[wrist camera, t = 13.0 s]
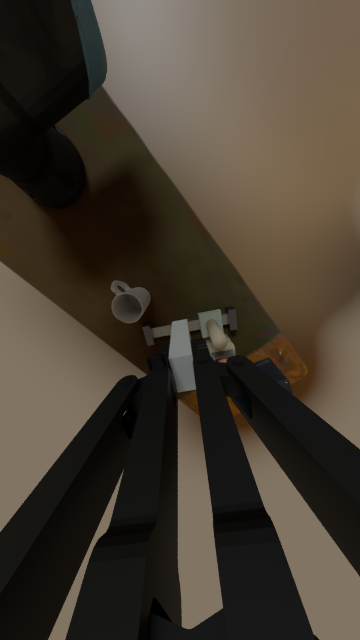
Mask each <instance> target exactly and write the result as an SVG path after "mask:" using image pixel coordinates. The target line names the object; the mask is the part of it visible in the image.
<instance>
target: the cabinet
mask: <svg viewBox="0 0 360 640" xmlns="http://www.w3.org/2000/svg"><path fill="white" fill-rule="evenodd" d="M225 336H226V338H227V339H228V344H227V346H226V347H225V348H223V349H217V348H215V347H214V345H213V343H212V340H211V338H210V337H208V338H204V340H206V343H207V346H208V349H209V352H210V355H211V357H212V358H213V360H215V361H217V359H222V358H228V357H231V356H236V355H235V346H234V345H233V343H232V342H231V340H230V339H229V337H228V336H227V334H225Z"/></svg>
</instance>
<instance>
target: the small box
mask: <svg viewBox="0 0 360 640" xmlns="http://www.w3.org/2000/svg"><path fill="white" fill-rule="evenodd" d="M254 364H255V365H256V366H258V367H259V368H260V369H261V370H263V371H264V372H265V373H266V374H268V375H269V376H270V377H271V378H272V379H274V380H275V381H276V382H277V383H279V384H280V385H281V386H282V387H284V388H285V389H286V390H287V391H289V392H290V393H291V394H292V395H293V393H292V390H291V386H290V383H289V380H288V378H287V377H286V376H285V375H284V374H283V373H282V372H281V370H280V369H279V368H278V367H277V366H276V365H275V364H274V363H273V362H272V360H271V359H270V358H267V359H264V360H262V361H259V362H256V363H254Z"/></svg>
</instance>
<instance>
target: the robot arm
mask: <svg viewBox="0 0 360 640" xmlns="http://www.w3.org/2000/svg"><path fill="white" fill-rule="evenodd" d="M106 73H107V60H106V54H105V49H104V45H103V41H102V37H101V33H100V29H99V26H98V23H97V19H96V16H95V12H94V9H93V6H92V2H91V0H0V174H1V175H3V176H5V177H7V178H9V179H11V180H12V181H13V182H14V183H15V184H16V185H17V186H19V187H20V188H21V189H22V190H23V191H24V192H25V193H26V194H27V195H28V196H30V197H31V198H32V199H34V200H35V201H37V202H39V203H41V204H44V205H46V206H48V207H52V208H65V207H68V206H70V205H72V204H73V203H75V202H76V201H77V200H78V198H79V197H80V195H81V193H82V191H83V187H84V181H85V173H84V166H83V162H82V159H81V157H80V154H79V152H78V151H77V149H76V147H75V146H74V144H73V143H72V142H71V141H70V140H69V138H68V137H67V136H66V135H65V134H64V133H63V132H62V131H61V130H60V129H59V128H58V127H56V126H55V124H56V123H58V122H59V121H60V120H61V119H62V118H64V117H65V116H66V115H67V114H69V113H70V112H71V111H72V110H73V109H75V108H76V107H77V106H78V105H79V104H81V103H82V102H83V101H84V100H86V99H87V100H89V99H90V98H91V96H92V93H93V92H94V91H95V90H96V89H98V88H99V87H100V86H101V85H102V84H103V83H104V81H105V78H106ZM146 363H147V366H148V369H149V374H148V375H147V376H145V377H142V378H140V379H137V377H136V376H135V375H129V376H126V377H124V378H122V379H120V380H119V381H118V382H117V384H116V385H115V386H114V388H113V389H112V390H111V391H110V393H109V394H108V395H107V396H106V398H105V399H104V400H103V402H102V403H101V404H100V405H99V407H98V408H97V409H96V411H95V412H94V413H93V414H92V416H91V417H90V418H89V420H88V421H87V422H86V423H85V425H84V426H83V427H82V428H81V430H80V431H79V432H78V434H77V435H76V436H75V437H74V439H73V440H72V441H71V443H70V444H69V445H68V446H67V448H66V449H65V450H64V452H63V453H62V454H61V455H60V457H59V458H58V459H57V461H56V462H55V463H54V464H53V466H52V467H51V468H50V469H49V471H48V472H47V473H46V475H45V476H44V477H43V478H42V480H41V481H40V482H39V483H38V485H37V486H36V487H35V489H34V490H33V491H32V493H31V494H30V495H29V496H28V498H27V499H26V500H25V501H24V503H23V504H22V505H21V507H20V508H19V509H18V510H17V512H16V513H15V514H14V515H13V517H12V518H11V519H10V521H9V522H8V523H7V525H6V526H5V527H4V528H3V530H2V531H1V532H0V640H48V638H49V636H50V634H51V631H52V629H53V627H54V625H55V622H56V620H57V618H58V616H59V613H60V611H61V609H62V607H63V604H64V602H65V600H66V598H67V595H68V593H69V591H70V589H71V586H72V584H73V582H74V580H75V577H76V575H77V573H78V570H79V568H80V566H81V564H82V561H83V559H84V557H85V555H86V553H87V550H88V548H89V546H90V544H91V541H92V539H93V537H94V535H95V532H96V530H97V528H98V526H99V523H100V521H101V519H102V517H103V514H104V512H105V510H106V508H107V505H108V503H109V501H110V499H111V496H112V494H113V492H114V490H115V487H116V485H117V483H118V481H119V478H120V476H121V474H122V472H123V476H122V479H121V483H120V487H119V491H118V495H117V499H116V503H115V506H114V510H113V514H112V518H111V522H110V525H109V528H108V530H107V531H106V533H105V534H104V535H103V536H101V537H100V538H99V539H98V541H97V543H96V544H95V546H94V548H93V551H92V554H91V556H90V559H89V562H88V565H87V569H86V572H85V575H84V579H83V582H82V585H81V589H80V592H79V595H78V599H77V602H76V606H75V609H74V612H73V616H72V619H71V622H70V626H69V629H68V633H67V636H66V639H65V640H319V639H318V638H317V637H316V636H315V635H314V634H313V632H312V629H311V626H310V624H309V621H308V618H307V615H306V612H305V609H304V607H303V604H302V601H301V598H300V595H299V593H298V590H297V587H296V584H295V581H294V579H293V576H292V573H291V570H290V568H289V565H288V562H287V559H286V557H285V554H284V551H283V548H282V545H281V543H280V540H279V537H278V535H277V532H276V529H275V527H274V525H273V522H272V520H271V518H270V516H269V515H268V514H267V512H266V510H265V508H264V505H263V502H262V499H261V497H260V494H259V491H258V488H257V485H256V482H255V479H254V476H253V474H252V470H251V468H250V465H249V462H248V459H247V456H246V453H245V450H244V447H243V444H242V441H241V439H240V436H239V433H238V430H237V427H236V424H235V421H234V418H233V415H232V412H231V409H230V407H229V404H228V401H227V398H226V396H227V397H231V399H232V401H233V402H234V403H235V405H236V406H237V407H238V409H239V410H240V412H241V413H242V414H243V416H244V417H245V419H246V420H247V421H248V423H249V424H250V425H251V427H252V428H253V430H254V431H255V432H256V433H257V435H258V436H259V438H260V439H261V441H262V442H263V443H264V445H265V446H266V448H267V449H268V450H269V452H270V453H271V454H272V456H273V457H274V458H275V460H276V461H277V463H278V464H279V465H280V467H281V468H282V470H283V471H284V472H285V474H286V475H287V476H288V478H289V479H290V480H291V482H292V483H293V485H294V486H295V487H296V489H297V490H298V492H299V493H300V494H301V496H302V497H303V499H304V500H305V501H306V503H307V504H308V505H309V507H310V508H311V510H312V511H313V512H314V514H315V515H316V517H317V518H318V519H319V521H320V522H321V523H322V525H323V526H324V527H325V529H326V530H327V532H328V533H329V535H330V536H331V537H332V539H333V540H334V541H335V543H336V544H337V546H338V547H339V548H340V550H341V551H342V552H343V554H344V555H345V557H346V558H347V559H348V561H349V562H350V563H351V565H352V566H353V568H354V569H355V570H356V572H357V573H358V575H359V576H360V449H359V448H358V447H356V446H355V445H354V444H352V443H351V442H350V441H349V440H348V439H346V438H345V437H344V436H343V435H341V434H340V433H339V432H338V431H337V430H335V429H334V428H333V427H332V426H330V425H329V424H328V423H327V422H325V421H324V420H323V419H322V418H320V417H319V416H318V415H317V414H316V413H314V412H313V411H312V410H310V409H309V408H308V407H307V406H306V405H304V404H303V403H302V402H301V401H300V400H298V399H297V398H296V397H295V396H293V395H292V394H291V393H290V392H289V391H287V390H286V389H285V388H284V387H282V386H281V385H280V384H279V383H277V382H276V381H275V380H274V379H272V378H271V377H270V376H269V375H268V374H266V373H265V372H264V371H263V370H261V369H260V368H259V367H258V366H256V365H255V364H254V363H253V362H252V361H250V360H249V359H248V358H246V357H244V356H239V355H236V356H231V357H229V358H228V359H227V360H226V362H217V361H215V360H213V358H212V357H211V355H210V352H209V349H208V346H207V343H206V340H204V339H203V338H200V339H194V340H191V337H190V332H189V327H188V322H187V319H184V320H179V321H174V322H172V328H171V338H170V345H165V346H161V347H160V348H159V349H158V352H157V353H155V354H152V355H150V356H149V357H148V358H147V359H146ZM176 389H177V392H183V391H189V390H195V389H196V392H197V399H198V407H199V414H200V422H201V429H202V437H203V444H204V452H205V459H206V467H207V474H208V482H209V489H210V497H211V504H212V512H213V528H214V538H215V547H216V555H217V563H218V571H219V578H220V586H221V594H222V602H223V609H221V610H220V611H218V612H217V613H215V614H214V615H212V616H211V617H209V618H208V619H206V620H205V621H203V622H202V623H200V624H199V625H197V626H196V627H194V628H192V629H185V628H183V627H182V616H181V592H180V582H179V574H178V559H177V558H178V557H177V556H178V554H177V553H178V550H177V549H178V547H177V546H178V541H177V540H178V534H177V533H178V513H177V512H178V493H177V492H178V489H177V488H178V485H177V484H178V398H177V394H176ZM125 411H126V413H125V414H124V412H125ZM123 414H124V415H123ZM123 469H124V471H123Z"/></svg>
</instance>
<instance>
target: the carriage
mask: <svg viewBox="0 0 360 640" xmlns="http://www.w3.org/2000/svg"><path fill="white" fill-rule="evenodd" d="M198 317H199V322H200V327H201V333H202V337H203V338H205V337H210V338H211V340H212V343H213V345H214V347H215V348H217V349H223V348H225V347H226V346H227V344H228V339H227V338H226V336H225V334H224V332H223V324H222V317H221V310H220V309H217V310H212V311H206V312H201V313H198Z"/></svg>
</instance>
